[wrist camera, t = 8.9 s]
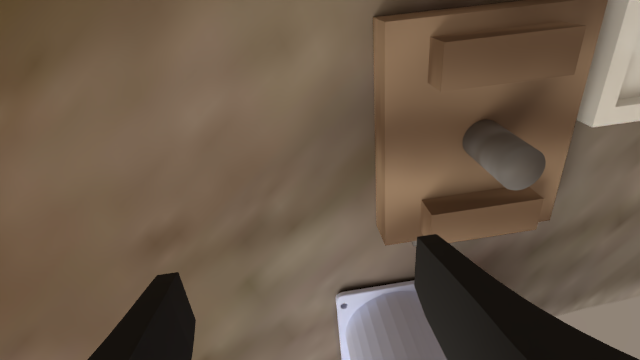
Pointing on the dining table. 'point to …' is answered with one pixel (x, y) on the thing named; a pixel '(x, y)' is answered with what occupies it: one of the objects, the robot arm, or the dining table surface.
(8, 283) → the dining table surface
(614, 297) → the dining table surface
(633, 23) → the dish
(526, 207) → the vise block
